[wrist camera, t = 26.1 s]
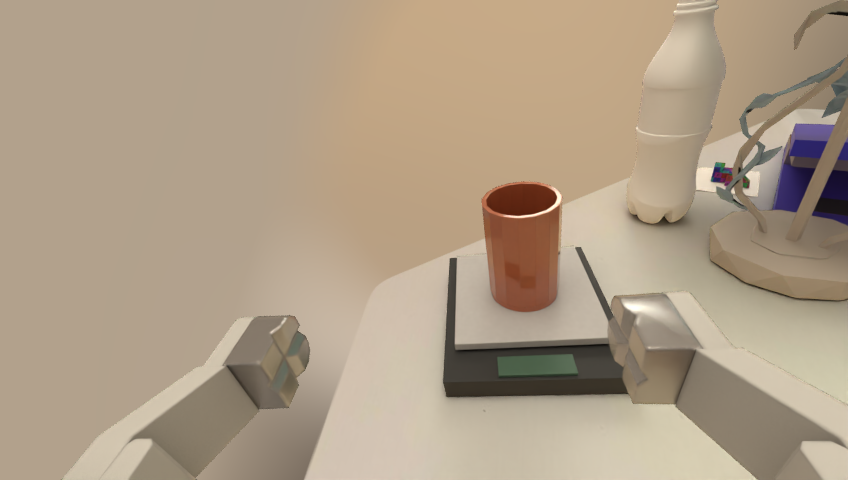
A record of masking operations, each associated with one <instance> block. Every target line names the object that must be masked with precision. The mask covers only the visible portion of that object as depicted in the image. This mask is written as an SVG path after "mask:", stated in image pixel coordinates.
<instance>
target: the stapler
mask: <svg viewBox="0 0 848 480" xmlns="http://www.w3.org/2000/svg"><path fill="white" fill-rule="evenodd" d="M834 126H835V125H823V124H795V127H794V129H793V132H792V135H791V134H790V137H789V139H788V142H787V144H786V147H785V150H784V155H783V160H782V165H781V170H780V175H779V180H778V185H777V190H776V195H775V200H774V205H773V210H785V211H790V212H796V213H797V210H798V208H799V206H800V204H801V201H802V199H803V197H804V195H805V192H806V190H807V188H808V185H809V183H810V181H811V179H812V176H813V174H814V172H815V169H816V167H817V165H818V163H819V160H820V158H821V156H822V153H823V151H824V149H825V147H826V144H827V142H828V140H829V137H830V135H831V133H832V131H833V128H834ZM812 216H817V217H822V218H828V219H833V220H835V221H838V222H840V223H842V224H845V225H847V226H848V137H847V139H846V141H845V143H844V145H843V148H842V150H841V152H840V154H839V156H838V158H837V161H836V163H835V165H834V167H833V169H832V172H831V174H830V176H829V178H828V180H827V182H826V185H825V187H824V189H823V191H822V193H821V195H820V198H819V200H818V202H817V204H816V206H815V209H814V211H813V213H812Z"/></svg>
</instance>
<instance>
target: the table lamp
mask: <svg viewBox="0 0 848 480" xmlns="http://www.w3.org/2000/svg"><path fill="white" fill-rule="evenodd" d="M825 14H834V15H844V16H848V1H844V0H840V1H837V2H835V3H832V4H830V5H827V6H824V7H822V8H819V9H817V10H814V11H811V13H810V14H809V15H808V17H807V18H806V20H805V21H804V22H803V24H802V25H801V27H800V28H799V29H798V31H797V32H796V33H795V35H794V50H795V49H797V47H798V45H799V42H800V40H801V38H802V36H803V34H804V31H805V30H806V29H807V28H808V27H810V26H811V25H812V24H813V23H815V22H816V21H817V20H819V19H820V18H821V17H822V16H824V15H825ZM838 67H840V68H839V69H837V68H838ZM836 69H837V70H836ZM815 82H818V84H817V85H816V86H814V87H813V88H811V89H810V90H809V91H807V92H806V93H804V94H803V95H802V96H800V97H799V98H798V99H796V100H795V101H793V102H792V103H790V104H789V105H788V106H787V107H785V108H784V109H782V110H781V111H779V112H778V113H777V114H775V115H774V116H772V117H771V118H770V119H768V120H767V121H766V122H765V123H764V124H763V125H762V126H761V127H760V128H759V129H758V130H757V131H756V133H755V134H754V135H753V136H751V135H749V133H748V128H747V122H746V115H747V114H748V113H749V112H751V111H752V110H753V109H754V108H762V107H765V106H766V105H767V104H769V103H770V102H771V101H773V100H774V99H775V98H776V97H777V96H780V95H783V94H785V93H788V92H791V91H793V90H796V89H798V88H801V87H804V86H807V85H809V84H812V83H815ZM829 85H831V86H832V88H833V90H834V92H835V94H836V97H835V98H834V99H833V100H832V101H831V102H829V104H828V106H827V108H826V110H825V112H824V114H823V116H822V118H823V117H826V116H828V115H831V114H833V113H836V112H838V111H841V112H840V115H839V117H838V119H837V122H836V124H835V126H834V128H833V131H832V133H831V135H830V137H829V140H828V142H827V144H826V147H825V149H824V151H823V153H822V156H821V158H820V160H819V163H818V165H817V167H816V169H815V172H814V174H813V176H812V179H811V181H810V183H809V185H808V188H807V190H806V192H805V195H804V197H803V199H802V201H801V204H800V206H799V208H798V210H797V213H796V212H790V211H785V210H762V211H759V210H758V209H757V208H756V207H755V206H754V204H753V203H752V202H751V201H750V200H749V198H748V197H747V196H746V195H745V194H744V192H743V177H744V176H745V175H746V174H747V173H748V172H749V171H750V170H751V169H752V168H753V167H754V166H756V165H760V164H763V163H765V162H767V161H769V160H770V159H771V158H773V157H774V156H775V155H776V154H777V153H778V152H779V150H780V149H781V148H782V147H783V146H781V147H778V148H776V149H772V150H769V151H766V152H764V153H763V151H764V149H765V146H764V145H763V144H762V143H760V142H759V141H758V140H759V138H760V137H761V136H762V134H763V133H764V131H765V130H767V129H768V128H770V127H771V126H772V125H774V124H775V123H777V122H778V121H780V120H781V119H782V118H784V117H785V116H787V115H788V114H789V113H791V112H792V111H794V110H795V109H797V108H798V107H799V106H801V105H802V104H804V103H805V102H807V101H808V100H809V99H811V98H812V97H814V96H815V95H816V94H818V93H819V92H821V91H822V90H824V89H825V88H826V87H828V86H829ZM739 120H740V124H741V128H742V132H743V134H744V135H745V136H746V137H747V138H749V140H748V141H747V142H746V143H745V144H744V145H743V146H742V147H741V148H740V150H739V153H738V156H737V158H736V161H735V164H734V167H733V169H732V175H733V180H732V181H731V182H730V183H729V185H728V186H727V187H726V189H723V188H720V187H718V186H716V192H717V194H718V195H719V197H720V198H721V199H724V200H726V201H728V202H731V203H734V204H735V205H736V206H737V207H739V208H742V209H745V210H748V211H739V212H732V213H730V214H729V215H727V216H726V217H724V218H723V219H721V220H720V221H718V222H717V223H715V224H714V225H712V226H711V228H710V260H711V261H713V262H714V263H716V264H717V265H719V266H721V267H722V268H724V269H725V270H727V271H728V272H730V273H731V274H733V275H735V276H736V277H738V278H739V279H741V280H742V281H744V282H746V283H748V284H752V285H755V286H758V287H762V288H765V289H768V290H771V291H775V292H778V293H781V294H785V295H788V296H791V297H794V298H807V299H824V300H844V299H848V226H847V225H845V224H842V223H840V222H838V221H835V220H833V219H828V218H822V217H817V216H812V213H813V211H814V209H815V206H816V204H817V202H818V200H819V198H820V195H821V193H822V191H823V189H824V187H825V185H826V182H827V180H828V178H829V176H830V174H831V172H832V169H833V167H834V165H835V163H836V161H837V158H838V156H839V154H840V152H841V150H842V148H843V145H844V143H845V141H846V139H847V137H848V56H847V57H846V58H844V59H843V60H842V61H840V62H839V63H838V64H837V65H836V66H834V67H832V68H830V69H827V70H825V71H823V72H821V73H819V74H817V75H814V76H811V77H809V78H808V79H807V80H805V81H803V82H801V83H799V84H797V85H795V86H793V87H790V88H788V89H786V90H784V91H781V92H778V93H775V94H773V95H770V94H761V95H759V96H757V97H756V98H755V99H754V100H753V102H752V103H751V104H750V105H749V106H748V107H747V108H746V109H745V111H744V113H743V114H742V116H741V118H740V119H739ZM755 144H757V145H758V153H757V154H756V156H755V157H754V158H753V159H752V160H751V162H750V163H749V164H748V165H747V166H746V167H745V168H744V169H743V170H742V163H743V161H744V160H745V158H746V157H747V156H748V154H749V153H750V151H751V150H752V148H753V147H754V146H755ZM733 187H734V190H735V194H736V196H737V197H738V198H739V200H740V201H741V202H742V203H743V204H744V205H745V206H744V205H742V204H740V203H738V202H737V201H736V200H735V199H733V195H732V193H731V190H732V188H733Z"/></svg>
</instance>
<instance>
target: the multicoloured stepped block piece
mask: <svg viewBox="0 0 848 480" xmlns="http://www.w3.org/2000/svg"><path fill="white" fill-rule="evenodd" d="M732 169H733V168H725V163H717V162H716V163H715V167H714V168H713V170H712V174H711V177H710V181H711V182H712V183H723V186H724V187H727V186H728V185H729V183H730V182H731V181H732V180H733V175H732ZM750 185H751V180H750V179H749V178H748V177H747V176H746V175H745V176H744V177H743V188H744V189H749V188H750Z"/></svg>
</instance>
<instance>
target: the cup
mask: <svg viewBox="0 0 848 480" xmlns="http://www.w3.org/2000/svg"><path fill="white" fill-rule="evenodd" d="M482 210H483V220H484V230H485V240H486V250H487V260H488V270H489V280H490V290H491V294H492V297H493V298H494V300H495V301H496V302H497V303H498V304H500V305H501V306H503V307H505V308H507V309H510V310H513V311H518V312H533V311H538V310H541V309H544V308H546V307H548V306H549V305H551V304H552V303H553V302H554V301H555V299H556V298H557V295H558V289H559V278H560V251H561V225H562V196H561V194H560V192H559V190H557V189H556V188H554V187H552V186H550V185H547V184H543V183H539V182H515V183H508V184H505V185H501V186H498V187H495V188H494V189H492V190H490V191H489V192H487V193H486V194H485V196H484V197H483V199H482Z"/></svg>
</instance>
